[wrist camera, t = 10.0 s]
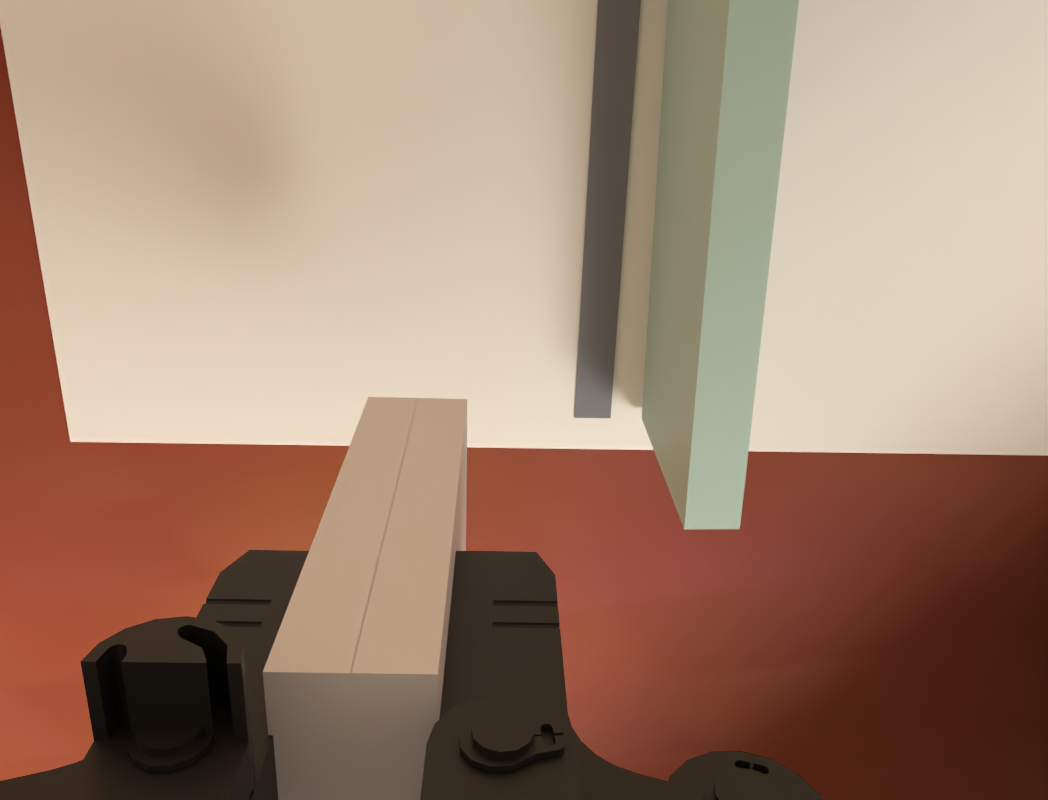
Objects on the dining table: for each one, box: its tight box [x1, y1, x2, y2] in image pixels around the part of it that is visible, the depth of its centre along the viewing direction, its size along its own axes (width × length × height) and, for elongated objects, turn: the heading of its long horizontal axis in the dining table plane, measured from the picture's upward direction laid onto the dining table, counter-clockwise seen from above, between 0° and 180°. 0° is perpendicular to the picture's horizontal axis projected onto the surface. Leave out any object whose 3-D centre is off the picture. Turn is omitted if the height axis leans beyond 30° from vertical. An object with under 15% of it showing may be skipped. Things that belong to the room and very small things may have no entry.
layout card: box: [0, 0, 1048, 456], centre depth 23 cm, size 19×30×1 cm, turn 88°
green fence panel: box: [642, 0, 799, 529], centre depth 20 cm, size 1×12×6 cm, turn 0°
